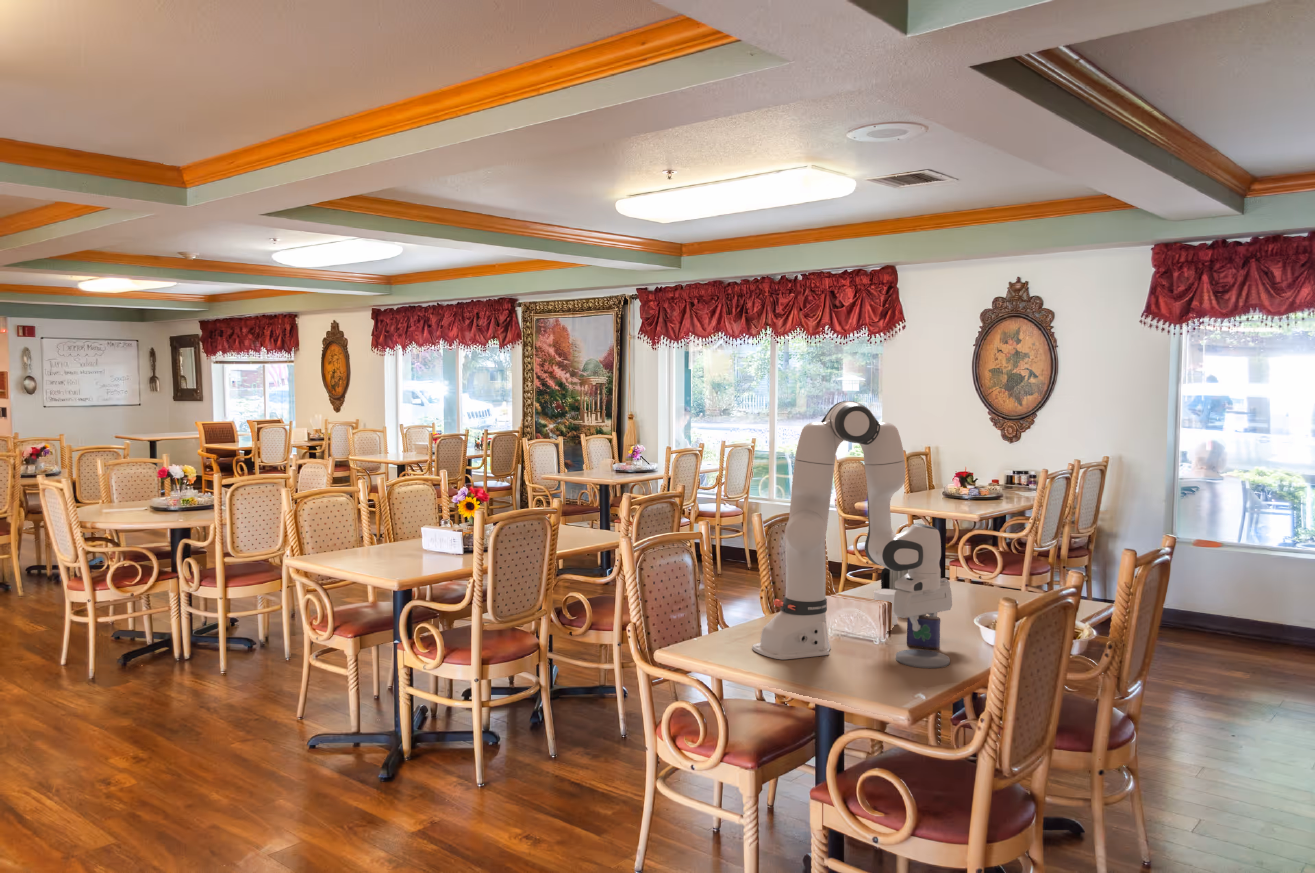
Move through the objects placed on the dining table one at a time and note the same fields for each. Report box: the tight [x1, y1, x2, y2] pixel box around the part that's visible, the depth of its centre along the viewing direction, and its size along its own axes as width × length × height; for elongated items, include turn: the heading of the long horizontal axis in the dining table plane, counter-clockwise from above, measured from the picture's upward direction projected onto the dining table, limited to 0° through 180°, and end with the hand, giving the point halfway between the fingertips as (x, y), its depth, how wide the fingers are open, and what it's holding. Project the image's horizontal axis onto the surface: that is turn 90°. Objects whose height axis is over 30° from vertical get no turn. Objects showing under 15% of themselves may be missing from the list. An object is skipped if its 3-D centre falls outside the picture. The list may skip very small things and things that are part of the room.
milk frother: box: [880, 567, 908, 590], centre depth 305 cm, size 14×16×15 cm
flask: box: [906, 614, 941, 651], centre depth 261 cm, size 9×3×11 cm, turn 60°
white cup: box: [873, 588, 899, 626], centre depth 288 cm, size 8×8×10 cm
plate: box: [895, 648, 951, 669], centre depth 248 cm, size 14×14×1 cm
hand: (923, 629), depth 261 cm, fingers closed on flask, 4 cm apart
